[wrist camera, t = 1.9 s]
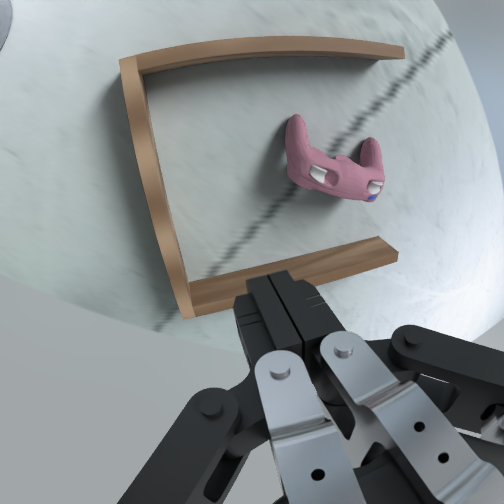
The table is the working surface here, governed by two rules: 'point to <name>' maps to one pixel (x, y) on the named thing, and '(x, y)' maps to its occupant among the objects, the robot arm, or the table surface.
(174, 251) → the wooden u-shaped frame
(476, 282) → the table surface
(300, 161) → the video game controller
